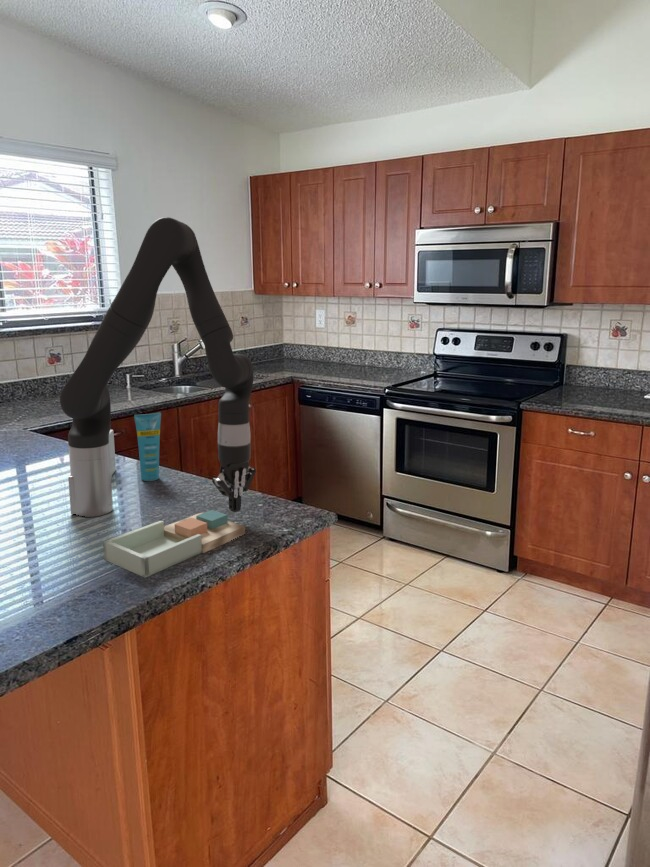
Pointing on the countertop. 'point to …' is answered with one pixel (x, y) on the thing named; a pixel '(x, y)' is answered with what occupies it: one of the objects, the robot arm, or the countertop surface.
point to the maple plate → (209, 534)
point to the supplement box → (112, 452)
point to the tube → (148, 444)
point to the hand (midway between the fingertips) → (235, 510)
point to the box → (149, 550)
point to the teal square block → (213, 518)
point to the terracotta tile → (190, 527)
